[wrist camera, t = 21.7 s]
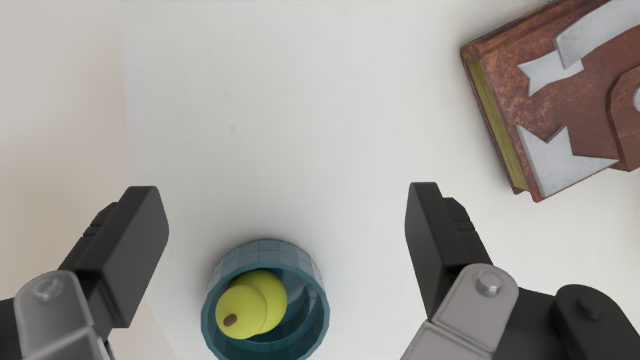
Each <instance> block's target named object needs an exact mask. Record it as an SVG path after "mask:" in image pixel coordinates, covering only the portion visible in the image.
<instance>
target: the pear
mask: <svg viewBox="0 0 640 360" xmlns="http://www.w3.org/2000/svg"><path fill="white" fill-rule="evenodd" d="M287 301H288V300H287V292H286V289H285V287H284V285H283V283H282V281H281V280H280V279H279V278H278V277H277V276H276V275H275V274H273V273H271V272H269V271H267V270H263V269H253V270H249V271H246V272H243V273H241V274H240V275H238V276H237V277H236V278H234V280H233V281H232V282H231V283H230V285H229V286H228V288H227V291H226V292H225V293H224V294H223V295H222V296H221V297H220V299H219V301H218V303H217V306H216V311H215V316H216V321H217V324H218V326H219V328H220V329H221V331H222V332H223V333H224V334H226V335H227V336H229V337H231V338H234V339H246V338H249V337H251V336H253V335H255V334H262V333H265V332H267V331H270V330H271V329H273V328H274V327H275V326H276V325H278V323H279V322H280V321H281V319H282V318H283V316H284V314H285V312H286V308H287Z"/></svg>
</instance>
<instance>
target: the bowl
mask: <svg viewBox="0 0 640 360" xmlns="http://www.w3.org/2000/svg"><path fill="white" fill-rule="evenodd" d="M253 269H263V270H267V271H269V272H271V273H273V274H275V275H276V276H277V277H278V278H279V279H280V280H281V281H282V283H283V285H284V287H285V289H286V292H287V300H288V301H287V308H286V312H285V314H284V316H283V318H282V319H281V321H280V322H279V323H278V325H276V326H275V327H274V328H273V329H271V330H270V331H267V332H265V333H262V334H255V335H253V336H251V337H249V338H246V339H234V338H231V337H229V336H227V335H226V334H224V333H223V332H222V331H221V329H220V328H219V326H218V324H217V321H216V316H215V311H216V306H217V303H218V301H219V299H220V297H221V296H222V295H223V294H224V293H225V292H226V291H227V288H228V286H229V285H230V283H231V282H232V281H233V280H234V278H236V277H237V276H238V275H240V274H241V273H243V272H246V271H249V270H253ZM329 316H330V308H329V304H328V301H327V297H326V294H325V290H324V286H323V283H322V279H321V276H320V272H319V269H318V267H317V266H316V265H315V263H314V262H313V260H312V259H311V258H310V256H308V255H307V254H306V253H305V252H303V251H302V250H300V249H299V248H297V247H296V246H295V245H292V244H288V243H285V242H282V241H279V240H278V241H277V240H257V241H254V242H250V243H247V244H243V245H241V246H239V247H237V248H236V249H234V250H233V251H231V252H229V253H228V254H226V255H225V256H224V257H223V258H222V260H221V261H220V262H219V263H218V264H217V266H216V267H215V268H214V270H213V272H212V275H211V278H210V280H209V283H208V286H207V290H206V294H205V298H204V302H203V306H202V310H201V332H202V334H203V337H204V339H205V342H206V344H207V346H208V348H209V349H210V350H211V351H212V352H213V353H214V355H215V356H216V357H217V358H218V359H219V360H305V359H307V358H308V357H310V356H311V354H312V353H313V352H314V351H315V350H316V349H317V348H318V347H319V346H320V344H321V343H322V341H323V338H324V336H325V334H326V332H327V329H328V327H329Z"/></svg>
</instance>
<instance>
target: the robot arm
mask: <svg viewBox="0 0 640 360" xmlns="http://www.w3.org/2000/svg"><path fill="white" fill-rule="evenodd" d="M168 237H169V226H168V221H167V218H166V214H165V211H164V207H163V204H162V201H161V197H160V194H159V191H158V189H157V187H156V186H130V187H129V188H128V189H127V190H126V191H125V193H124V194H123V196H122V197H121V199H120V200H119V202H113V203H111V204H110V205H108V206H107V207H106V208H104V209H103V210H102V211H100V212H99V213H98V214H97V216H96V217H95V218H94V220H93V221H92V222H91V224H90V227H88V228H87V229H86V231H85V232H84V233H83V237H81V238H80V239H79V241H78V242H77V243H76V245H75V246H74V247H73V249H72V250H71V252H70V253H69V254H68V256H67V257H66V258H65V260H64V261H63V263H62V264H61V265H60V267H59V268H58V269H57V270H56V271H51V272H47V273H45V274H42V275H40V276H38V277H36V278H34V279H32V280H31V281H29V282H28V283H26V284H25V285H24V286H23V287H22V288H21V289H20V290H19V291H18V293H17V294H16V297H14V298H10V299H6V300H2V301H0V360H116V358H115V355H114V352H113V350H112V348H111V344H110V342H109V340H108V336H109V334H110V332H111V330H112V328H129V326H130V324H131V321H132V319H133V317H134V315H135V313H136V310H137V308H138V306H139V304H140V302H141V299H142V297H143V295H144V293H145V290H146V288H147V286H148V284H149V282H150V279H151V277H152V275H153V273H154V271H155V268H156V266H157V264H158V262H159V259H160V257H161V255H162V253H163V251H164V248H165V246H166V244H167V241H168ZM405 237H406V242H407V245H408V249H409V252H410V256H411V260H412V263H413V267H414V270H415V274H416V278H417V281H418V285H419V288H420V292H421V296H422V299H423V303H424V307H425V310H426V314H427V317H428V319H426V320H425V321H424V323H423V324H422V325H421V327H420V328H419V330H418V332H417V333H416V335H415V336H414V338H413V340H412V341H411V343H410V344H409V346H408V348H407V349H406V351H405V353H404V354H403V356H402V357H401V359H400V360H640V336H639V334H638V333H637V331H636V330H635V328H634V327H633V326H632V324H631V323H630V321H629V320H628V318H627V317H626V315H625V314H624V313H623V311H622V310H621V308H620V307H619V306H618V305H617V303H615V302H614V301H613V300H612V299H611V298H610V297H608V296H607V295H605V294H604V293H602V292H600V291H598V290H596V289H594V288H591V287H588V286H584V285H578V284H570V285H565V286H563V287H561V288H560V289H559V290H558V291H557V293H556V295H555V296H552V295H548V294H543V293H539V292H535V291H530V290H527V289H523V288H521V287H518V285H517V283H516V282H515V280H514V279H513V278H512V277H511V276H510V275H509V274H508V273H507V272H505V271H504V270H502V269H500V268H498V267H496V266H494V265H493V263H492V261H491V259H490V257H489V255H488V253H487V251H486V249H485V247H484V245H483V243H482V241H481V239H480V237H479V235H478V233H477V231H475V227H474V225H473V224H472V222H470V218H469V216H468V214H467V212H466V210H465V208H464V207H463V206H462V205H461V204H460V203H458V202H457V201H456V200H455V199H454V198H443V197H442V195H441V193H440V190H439V188H438V186H437V184H436V183H435V182H412V183H411V184H410V187H409V193H408V201H407V208H406V216H405Z"/></svg>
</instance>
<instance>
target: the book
mask: <svg viewBox="0 0 640 360" xmlns="http://www.w3.org/2000/svg"><path fill="white" fill-rule="evenodd" d="M460 56H461V57H462V58H463V65H464V67H465V70H466V73H467V75H468V78H469V80H470V83H471V85H472V88H473V90H474V93H475V96H476V98H477V101H478V103H479V106H480V108H481V111H482V113H483V116H484V119H485V121H486V124H487V126H488V129H489V131H490V134H491V136H492V139H493V142H494V144H495V147H496V149H497V152H498V154H499V157H500V159H501V162H502V165H503V167H504V170H505V172H506V175H507V177H508V180H509V182H510V185H511V188H512V190H513V193H514V194H515V195H517V194H519V193H521V192H523V191H525V190H526V191H529V192H530V193H531V196H532V198H533V201H534V202H536V203H538V202H540V201H542V200H544V199H546V198H548V197H550V196H552V195H554V194H556V193H558V192H560V191H562V190H564V189H566V188H568V187H570V186H572V185H574V184H576V183H578V182H580V181H582V180H584V179H586V178H588V177H590V176H592V175H594V174H596V173H598V172H600V171H602V170H604V169H606V168H612V169H617V170H622V171H627V172H631V171H633V170H635V169H637V168H639V167H640V0H554V1H552V2H550V3H548V4H546V5H544V6H542V7H540V8H538V9H536V10H534V11H532V12H530V13H528V14H526V15H524V16H522V17H520V18H518V19H516V20H514V21H512V22H510V23H508V24H506V25H504V26H502V27H500V28H498V29H496V30H494V31H492V32H490V33H488V34H486V35H484V36H482V37H480V38H478V39H476V40H474V41H472V42H470V43H468V44H466V45H464V46H462V47H461V50H460Z"/></svg>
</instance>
